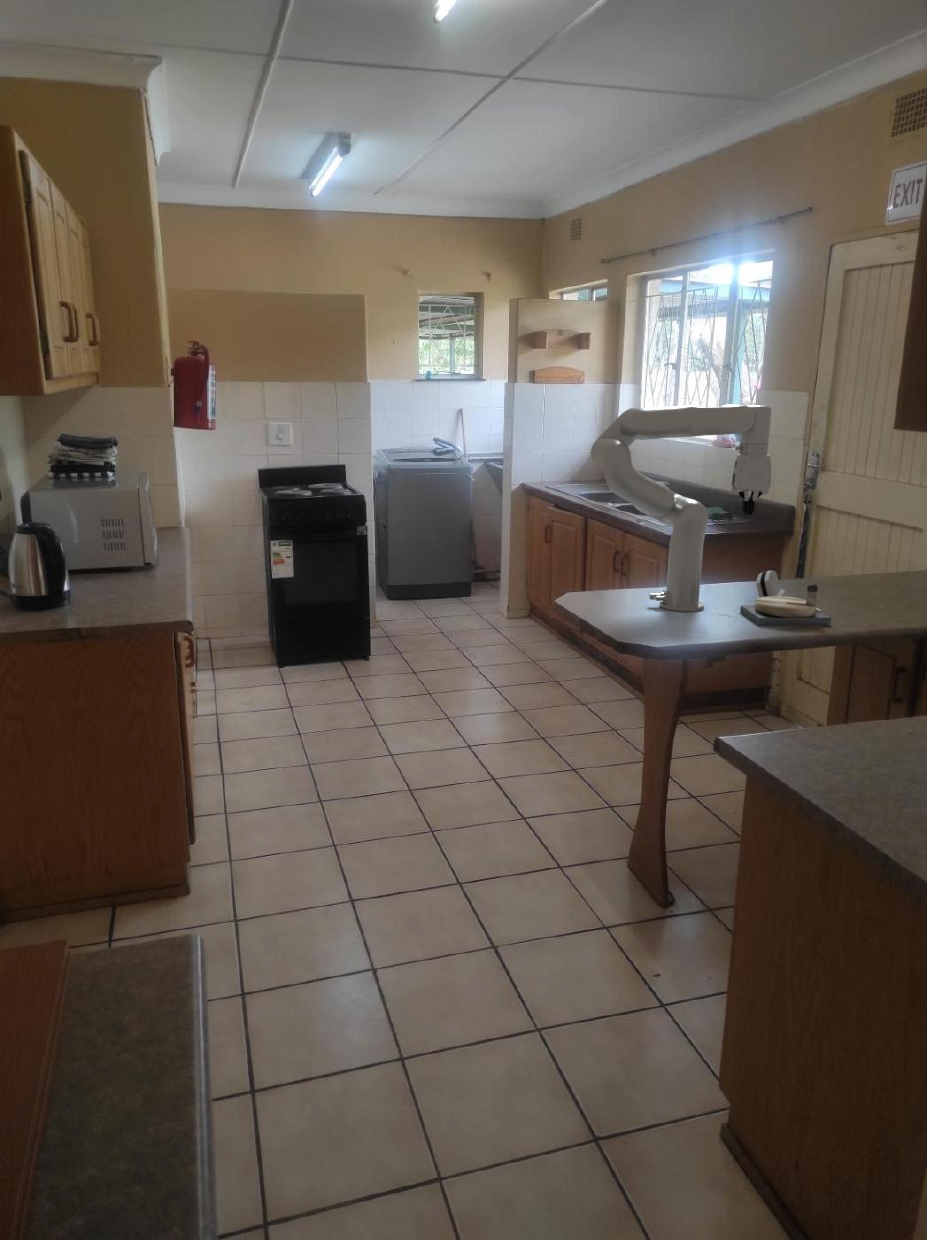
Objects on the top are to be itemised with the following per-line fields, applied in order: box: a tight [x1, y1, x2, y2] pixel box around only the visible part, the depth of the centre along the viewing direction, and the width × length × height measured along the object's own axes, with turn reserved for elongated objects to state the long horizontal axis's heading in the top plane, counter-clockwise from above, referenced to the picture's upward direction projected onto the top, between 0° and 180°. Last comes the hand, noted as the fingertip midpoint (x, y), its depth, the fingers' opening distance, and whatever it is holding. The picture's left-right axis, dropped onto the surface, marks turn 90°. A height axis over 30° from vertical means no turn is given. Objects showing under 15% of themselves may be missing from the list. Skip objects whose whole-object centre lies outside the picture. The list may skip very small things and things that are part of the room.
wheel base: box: [739, 604, 832, 627], centre depth 244 cm, size 20×14×3 cm
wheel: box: [754, 583, 819, 617], centre depth 243 cm, size 16×16×8 cm
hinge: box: [755, 570, 788, 598], centre depth 265 cm, size 17×5×10 cm, turn 153°
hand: (747, 514), depth 253 cm, fingers closed
